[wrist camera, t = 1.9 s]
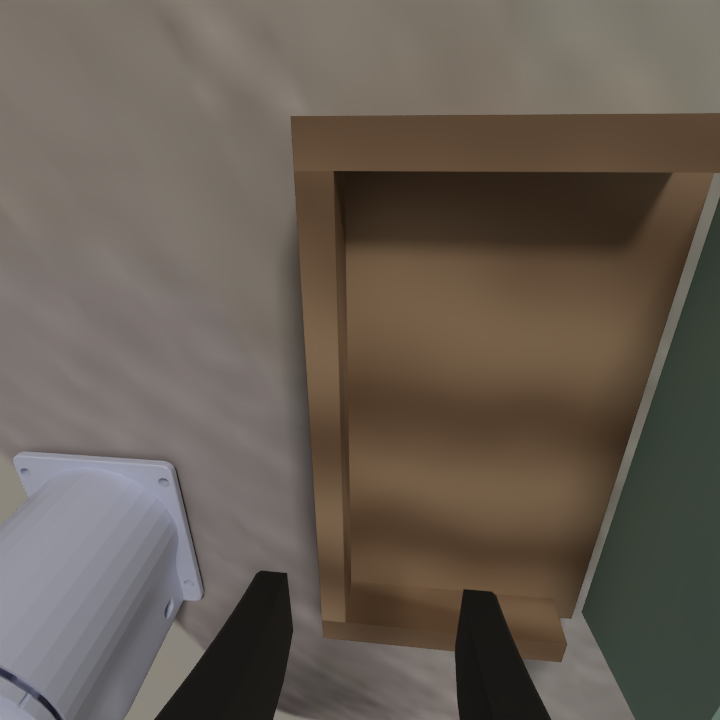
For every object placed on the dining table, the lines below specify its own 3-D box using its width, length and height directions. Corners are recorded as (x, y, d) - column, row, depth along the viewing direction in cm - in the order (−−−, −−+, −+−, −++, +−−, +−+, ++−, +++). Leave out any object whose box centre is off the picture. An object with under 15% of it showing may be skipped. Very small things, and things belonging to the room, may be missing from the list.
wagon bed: (558, 580, 22) (586, 664, 19) (337, 560, 23) (323, 637, 20) (689, 118, 13) (790, 112, 10) (320, 120, 14) (290, 116, 11)
